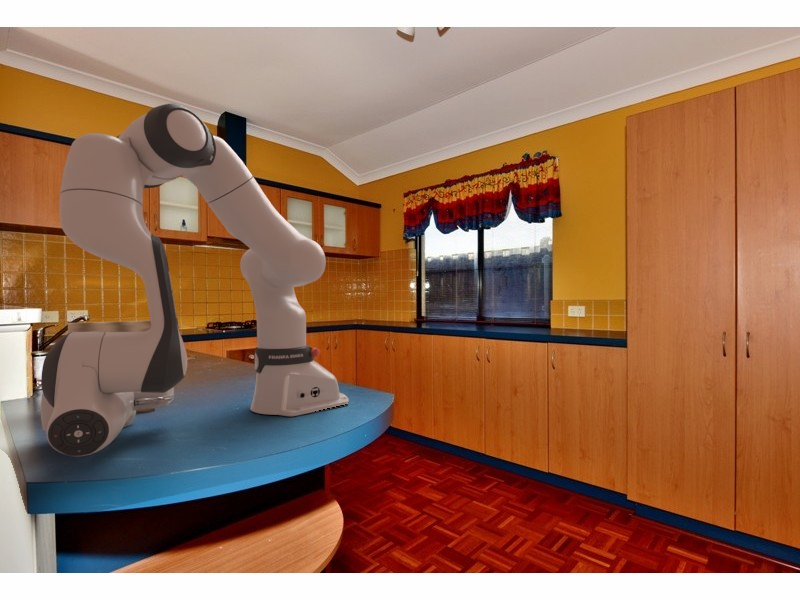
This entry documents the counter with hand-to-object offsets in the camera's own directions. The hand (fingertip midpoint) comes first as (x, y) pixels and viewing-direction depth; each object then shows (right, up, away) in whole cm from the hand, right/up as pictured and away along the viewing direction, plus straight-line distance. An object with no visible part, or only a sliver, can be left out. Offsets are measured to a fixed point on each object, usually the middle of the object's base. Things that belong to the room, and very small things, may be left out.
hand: (119, 389), depth 85 cm
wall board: (-10, -7, +16) cm, 20 cm away
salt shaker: (0, -7, -1) cm, 7 cm away
